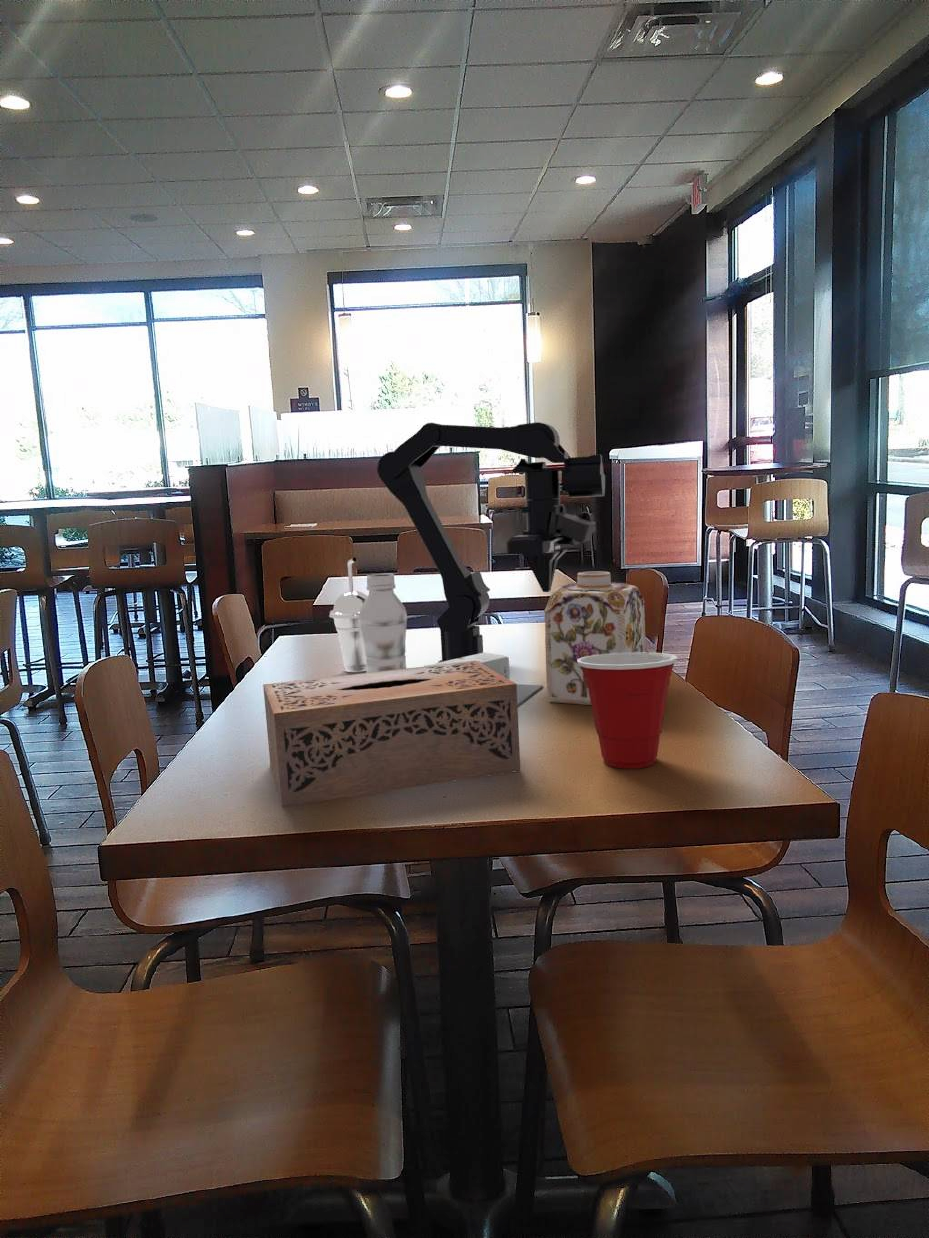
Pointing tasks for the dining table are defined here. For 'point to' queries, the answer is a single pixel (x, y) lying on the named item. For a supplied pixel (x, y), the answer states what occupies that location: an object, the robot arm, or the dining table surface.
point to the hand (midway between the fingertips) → (546, 591)
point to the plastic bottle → (383, 625)
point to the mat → (526, 692)
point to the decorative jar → (589, 630)
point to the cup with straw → (350, 626)
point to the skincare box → (485, 662)
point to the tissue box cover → (390, 730)
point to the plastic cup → (628, 704)
